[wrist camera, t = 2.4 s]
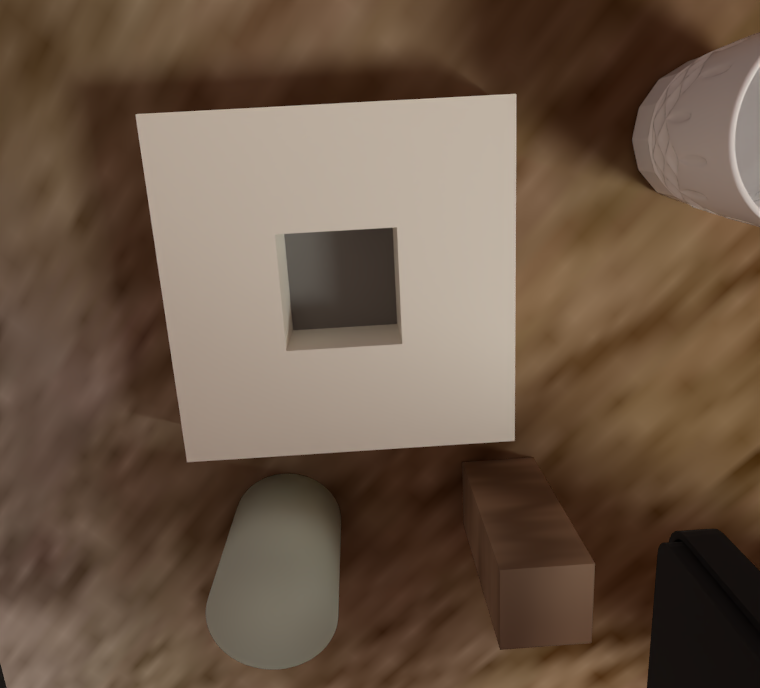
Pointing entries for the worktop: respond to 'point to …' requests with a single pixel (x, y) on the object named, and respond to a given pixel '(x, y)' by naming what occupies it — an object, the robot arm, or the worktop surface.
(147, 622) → the worktop surface
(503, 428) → the cream socket block
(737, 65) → the white cup
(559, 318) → the worktop surface
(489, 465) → the walnut square peg
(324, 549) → the sage round peg
